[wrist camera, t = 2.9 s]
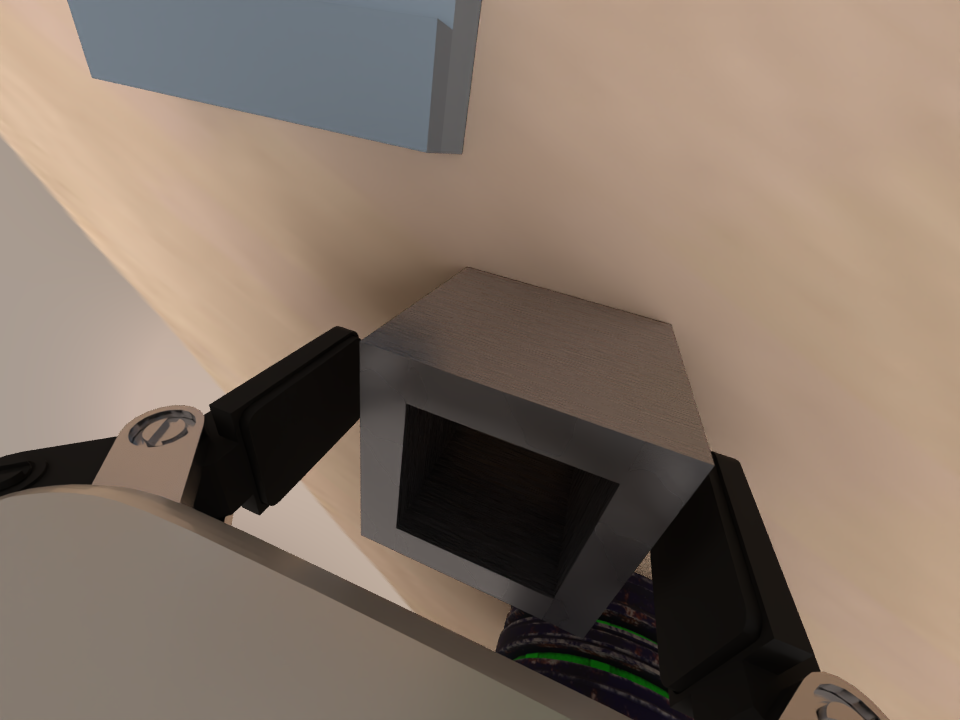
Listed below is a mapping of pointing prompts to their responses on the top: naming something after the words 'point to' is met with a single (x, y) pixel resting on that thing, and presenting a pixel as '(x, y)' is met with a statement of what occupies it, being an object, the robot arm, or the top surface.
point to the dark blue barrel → (600, 654)
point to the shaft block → (299, 60)
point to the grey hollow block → (526, 442)
